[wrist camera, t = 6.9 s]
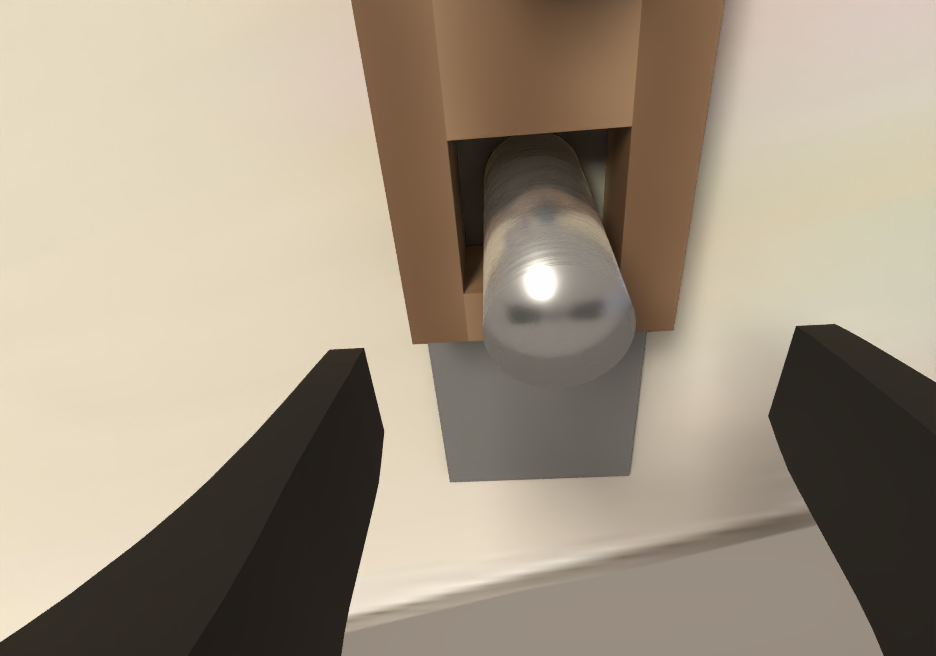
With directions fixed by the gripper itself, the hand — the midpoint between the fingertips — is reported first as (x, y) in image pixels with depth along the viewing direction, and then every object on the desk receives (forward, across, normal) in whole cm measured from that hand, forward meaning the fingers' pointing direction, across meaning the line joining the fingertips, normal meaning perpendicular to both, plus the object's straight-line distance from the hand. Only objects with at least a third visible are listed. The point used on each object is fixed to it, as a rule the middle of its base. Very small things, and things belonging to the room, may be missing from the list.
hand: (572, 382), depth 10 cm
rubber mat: (+10, 0, +10) cm, 14 cm away
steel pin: (+10, 0, 0) cm, 10 cm away
